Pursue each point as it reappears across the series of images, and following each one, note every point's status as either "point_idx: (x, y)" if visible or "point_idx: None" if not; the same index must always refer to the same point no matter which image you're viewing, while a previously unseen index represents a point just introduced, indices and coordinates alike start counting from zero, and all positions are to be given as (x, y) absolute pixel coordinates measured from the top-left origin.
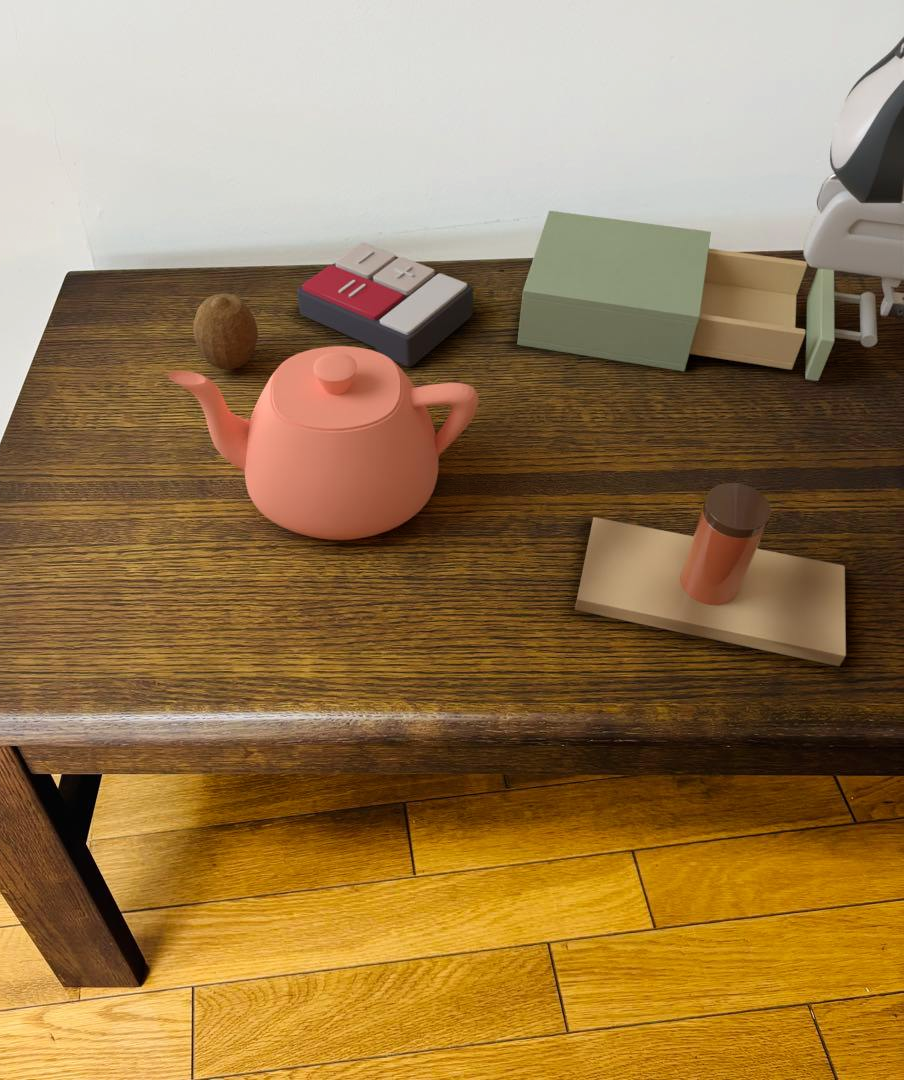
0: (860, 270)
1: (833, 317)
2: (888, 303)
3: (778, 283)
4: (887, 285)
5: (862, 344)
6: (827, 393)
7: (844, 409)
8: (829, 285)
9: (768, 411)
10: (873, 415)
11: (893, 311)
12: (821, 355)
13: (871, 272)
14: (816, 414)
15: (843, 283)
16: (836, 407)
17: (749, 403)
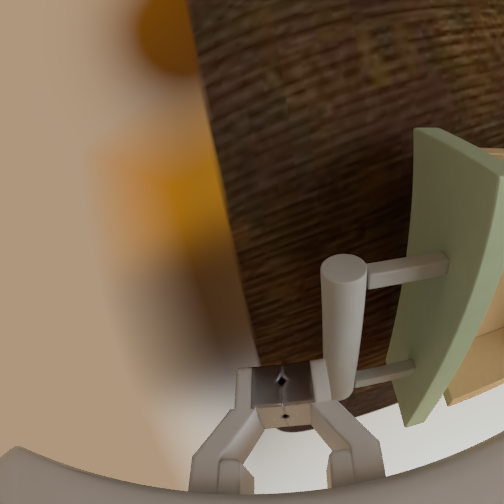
0: (484, 458)
1: (472, 294)
2: (326, 395)
3: (467, 355)
4: (363, 447)
5: (354, 255)
6: (374, 114)
7: (329, 65)
8: (439, 383)
9: (472, 29)
10: (255, 69)
11: (300, 377)
12: (475, 151)
13: (451, 470)
14: (388, 31)
15: None
16: (349, 67)
17: (500, 51)
